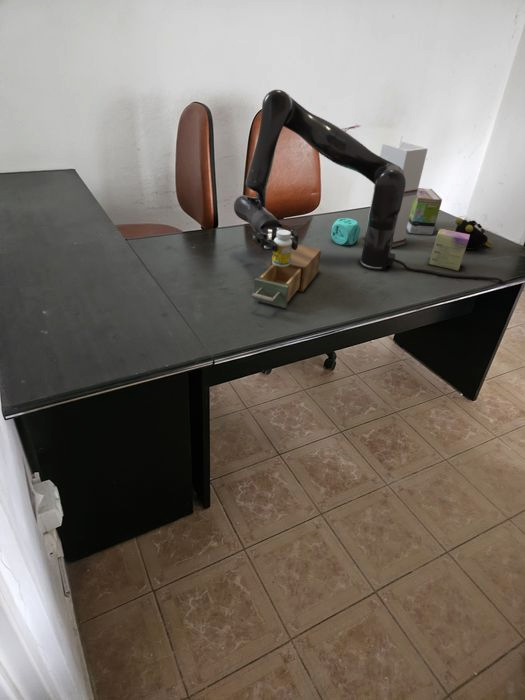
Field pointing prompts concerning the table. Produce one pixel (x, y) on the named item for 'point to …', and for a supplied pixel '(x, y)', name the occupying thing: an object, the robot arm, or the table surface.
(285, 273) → the drawer
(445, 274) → the robot arm
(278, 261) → the supplement bottle
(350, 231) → the decorative dice
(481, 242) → the black yellow plush toy
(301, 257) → the cabinet
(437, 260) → the box
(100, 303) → the table surface
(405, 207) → the tall white carton
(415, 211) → the tea box
